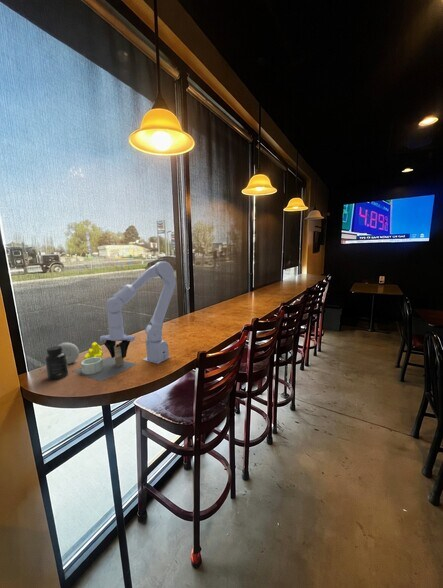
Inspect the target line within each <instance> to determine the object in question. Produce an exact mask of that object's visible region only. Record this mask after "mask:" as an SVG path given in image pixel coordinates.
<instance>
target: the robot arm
mask: <svg viewBox="0 0 443 588" xmlns="http://www.w3.org/2000/svg"><path fill="white" fill-rule="evenodd" d="M158 277H159V278H160V280H161V281H162V283H163V286H162V288H161V292H160V295H159V297H158V301H157V303H156V306H155V309H154V312H153V315H152V317H151V319H150V321H149V323H148V324H146V326H145V328H144V332H145V334H146V338H145V348H146V349H145V351H146V357H144V358H142V361H146V362H151V363H154V364H160V363H163V362H164V361H166V360H168V359H170V358H171V356H170V353H169V345H168V342H167V341H165V340H163V326H164V321H165V317H166V313H167V310H168V308H169V305H170V302H171V300H172V297H173V294H174V291H175V288H176V285H177V281H176V277H175V271H174V267H172V265H171V263H169V262H168V261H165V260H164V261H157V262H156V263H155V264H154V265H151V266H150V267H148V268H147V269H146V270H145V271H144V272H142V274H140V276H139V277H138V278H136V279H135V281H133V282H131V284H125V285H122V286H121V287H120V288H121V289H119V290H118V291H117V292H116V293H115V294H114V293H113V294H112V295H111V297H110V298H109V299H107V301H106V305H105V306H106V307H105V308H106V309H107V323H108V324H107V325H108V333H109V334H107V335H105V334H104V335H101V336H100V337H99V341H100V342H104V343H103V344H104V346H105V347H106V349H107V350H108V353H109V354H110V357H112V358H115V354H114V346H116V345H117V344H116V342H119V343H118V344H119V345H120V348H121V354H122V358H123V359H125V358H127V353H128V348H129V345H130V343H132V342H134V341H135V335H129V334H125V330H124V329H125V327H124V319H123V313H122V308H123V306H125V305H126V304H127V303H129V301H131V300H132V299H133V298H134V297H135V296H136V295H137V290H138V289H141V287H142V286H143V285H144V284H145V283H147V282H148V281H149V280H150V279H152V278H158Z"/></svg>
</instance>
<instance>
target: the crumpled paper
mask: <svg viewBox="0 0 443 588" xmlns="http://www.w3.org/2000/svg"><path fill="white" fill-rule="evenodd" d="M102 350H103V347H102V346H101V345H99V344H98V343H97V342H96V341H94V342H93V343H91V347H90V348H89V349H88V353H85V355H84V360H85V359H88V358H92V357H101V358H102V357H103V354H104V351H102Z"/></svg>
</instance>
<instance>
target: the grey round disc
mask: <svg viewBox="0 0 443 588" xmlns="http://www.w3.org/2000/svg"><path fill="white" fill-rule="evenodd" d="M57 346H61V347H62V350H63V351H62V352H63V353H64V352H65V351H68V352H69V353H70V355H69V356H66V359H67V365H70V364H74V363H75V362H76V361H77V360H78V359H79V356H80V349H79V348H78V346H77V345H76V344H74V343H72V342H67V341H66V342H61V343H60V344H58V345H57Z"/></svg>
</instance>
